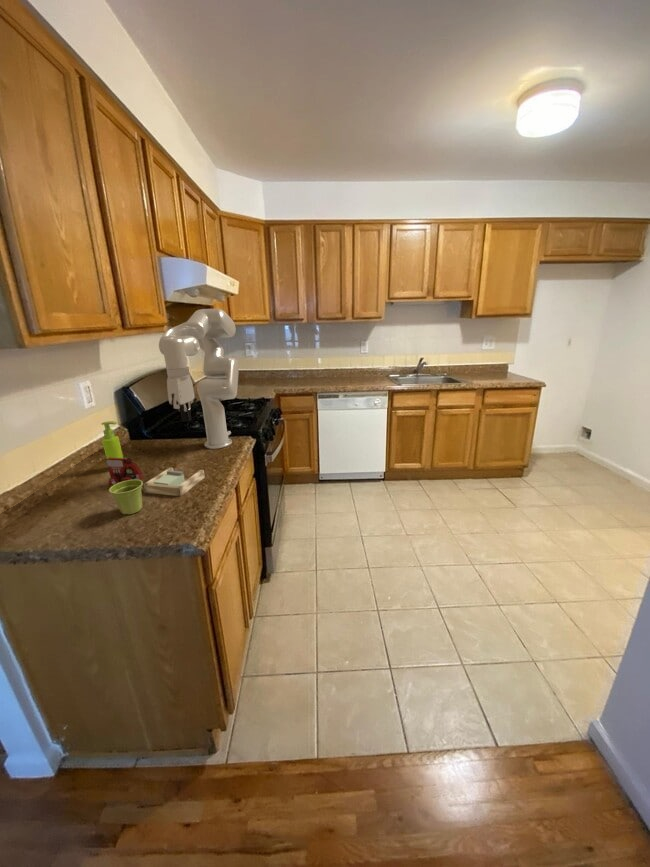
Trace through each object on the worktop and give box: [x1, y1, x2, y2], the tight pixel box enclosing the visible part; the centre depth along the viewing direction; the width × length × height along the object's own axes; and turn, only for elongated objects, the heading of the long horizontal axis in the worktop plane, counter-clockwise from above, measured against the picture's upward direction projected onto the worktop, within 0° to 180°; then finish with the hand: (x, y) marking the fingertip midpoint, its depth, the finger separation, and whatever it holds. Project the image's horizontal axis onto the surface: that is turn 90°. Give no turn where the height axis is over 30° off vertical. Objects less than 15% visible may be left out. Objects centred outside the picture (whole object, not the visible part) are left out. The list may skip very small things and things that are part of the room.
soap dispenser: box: [101, 420, 124, 460], centre depth 144 cm, size 6×7×20 cm
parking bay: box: [142, 467, 206, 497], centre depth 130 cm, size 15×15×3 cm
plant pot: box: [108, 480, 144, 515], centre depth 113 cm, size 9×9×9 cm
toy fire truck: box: [105, 457, 144, 487], centre depth 131 cm, size 7×12×10 cm, turn 82°
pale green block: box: [154, 470, 186, 486], centre depth 129 cm, size 8×6×4 cm
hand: (186, 420), depth 135 cm, fingers closed
